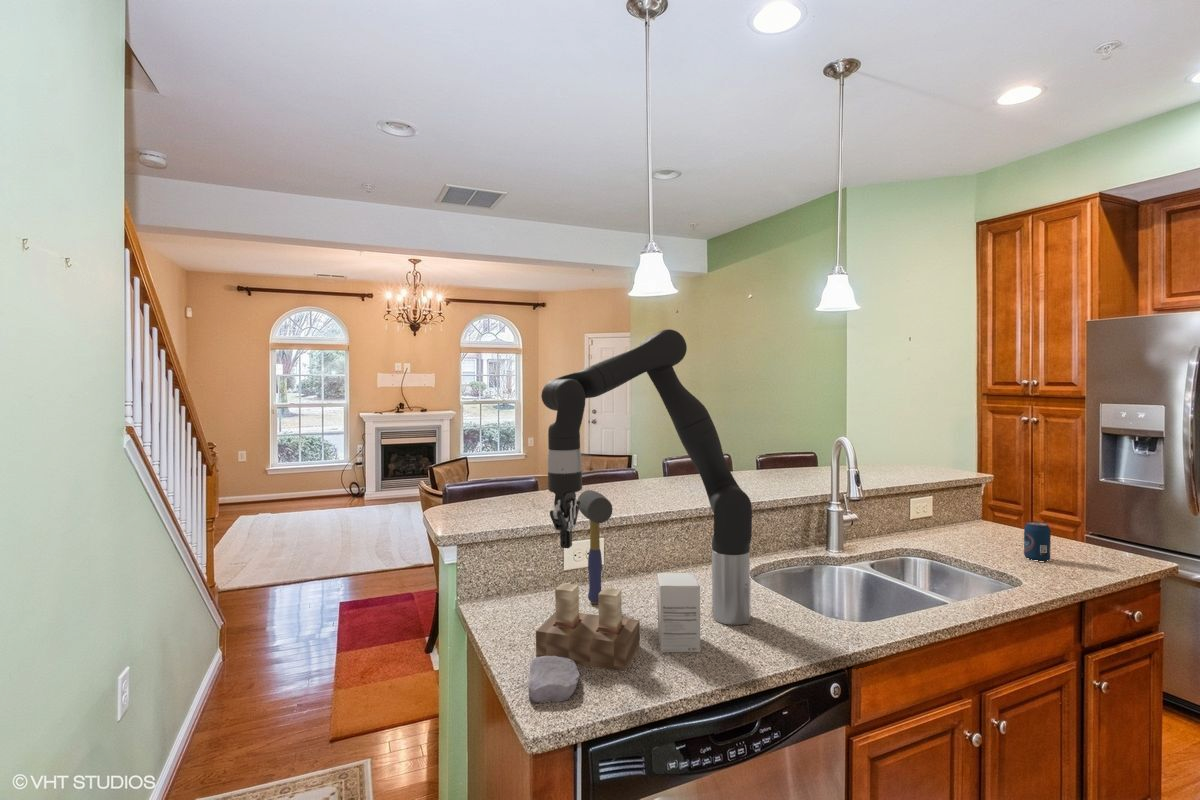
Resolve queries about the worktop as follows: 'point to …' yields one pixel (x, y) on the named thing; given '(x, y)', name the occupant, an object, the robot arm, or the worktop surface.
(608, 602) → the near birch peg
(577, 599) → the far birch peg
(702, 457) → the robot arm
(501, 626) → the worktop surface
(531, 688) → the stone block
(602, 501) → the rubber mallet
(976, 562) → the worktop surface
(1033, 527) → the soda can
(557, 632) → the wooden mortise block
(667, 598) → the supplement box
